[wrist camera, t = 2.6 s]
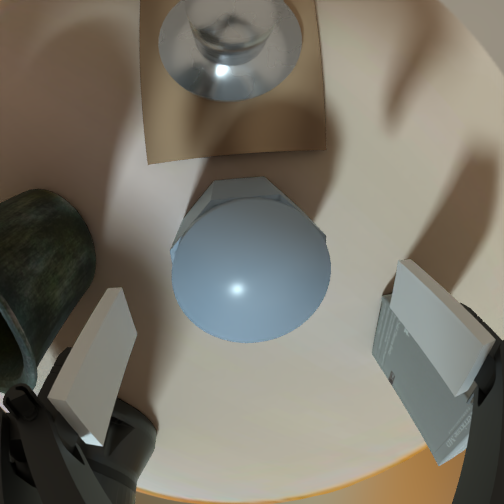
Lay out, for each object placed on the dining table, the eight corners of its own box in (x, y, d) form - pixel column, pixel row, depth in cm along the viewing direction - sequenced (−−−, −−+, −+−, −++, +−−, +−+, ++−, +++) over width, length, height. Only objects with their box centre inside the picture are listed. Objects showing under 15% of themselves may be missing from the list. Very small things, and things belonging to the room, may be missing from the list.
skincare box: (380, 293, 25) (478, 421, 10) (436, 279, 25) (535, 377, 11) (368, 356, 28) (431, 473, 14) (419, 341, 29) (488, 438, 14)
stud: (164, 110, 16) (136, 99, 10) (161, -3, 13) (139, -49, 7) (302, 100, 17) (340, 86, 11) (291, -11, 13) (318, -56, 7)
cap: (195, 289, 23) (187, 348, 16) (179, 184, 19) (158, 211, 13) (298, 278, 23) (325, 332, 17) (298, 174, 20) (333, 195, 13)
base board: (151, 163, 18) (148, 164, 18) (145, -26, 12) (142, -32, 11) (321, 149, 19) (326, 150, 18) (303, -35, 13) (306, -40, 12)
